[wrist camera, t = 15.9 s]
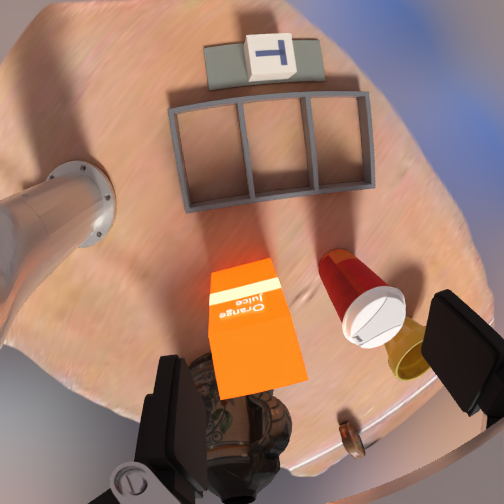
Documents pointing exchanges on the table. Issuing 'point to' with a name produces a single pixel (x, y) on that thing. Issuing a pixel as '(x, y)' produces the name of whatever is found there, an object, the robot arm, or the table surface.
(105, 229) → the robot arm
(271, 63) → the letter cube
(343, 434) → the tin
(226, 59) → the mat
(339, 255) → the coffee cup
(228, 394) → the orange juice
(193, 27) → the table surface
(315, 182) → the sorting box
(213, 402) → the dark ornate vase
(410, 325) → the plant pot
